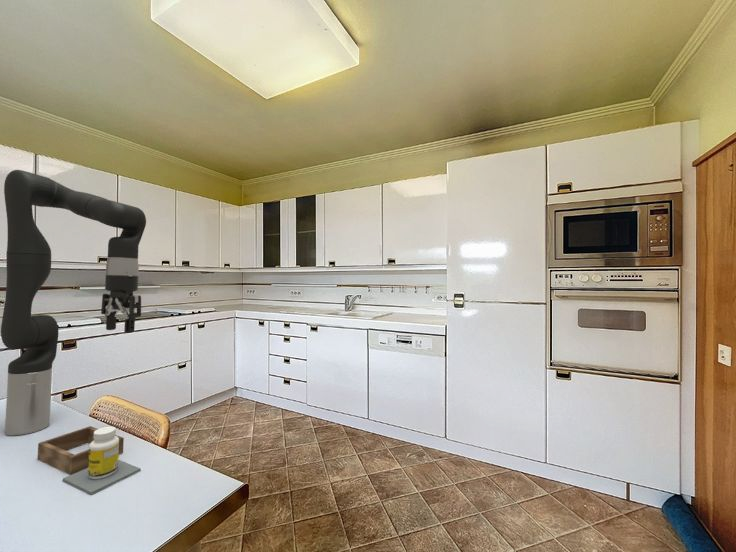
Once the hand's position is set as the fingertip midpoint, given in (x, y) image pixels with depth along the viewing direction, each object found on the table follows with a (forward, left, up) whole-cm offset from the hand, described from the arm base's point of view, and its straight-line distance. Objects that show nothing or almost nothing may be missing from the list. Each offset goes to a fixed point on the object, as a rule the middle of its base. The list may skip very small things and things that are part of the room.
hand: (120, 331), depth 94 cm
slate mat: (+17, -12, -30) cm, 37 cm away
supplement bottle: (+17, -12, -30) cm, 36 cm away
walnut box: (+3, -10, -30) cm, 32 cm away
